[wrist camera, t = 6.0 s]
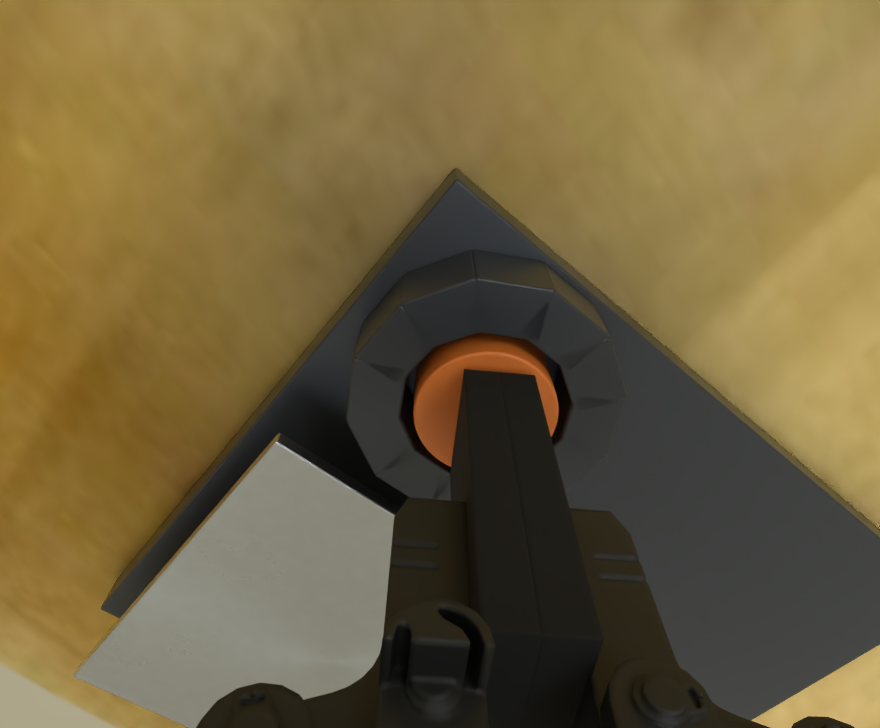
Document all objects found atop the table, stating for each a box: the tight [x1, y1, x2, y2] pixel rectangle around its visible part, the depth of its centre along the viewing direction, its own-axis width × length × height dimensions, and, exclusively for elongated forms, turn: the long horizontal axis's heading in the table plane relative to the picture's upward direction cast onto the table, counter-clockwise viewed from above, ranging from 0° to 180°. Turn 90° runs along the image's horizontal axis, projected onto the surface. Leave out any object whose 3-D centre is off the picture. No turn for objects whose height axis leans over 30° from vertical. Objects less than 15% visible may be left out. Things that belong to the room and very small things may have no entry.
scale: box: [101, 169, 880, 721], centre depth 20 cm, size 20×17×3 cm
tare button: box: [413, 332, 559, 467], centre depth 15 cm, size 3×3×2 cm
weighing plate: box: [74, 433, 400, 728], centre depth 18 cm, size 10×10×1 cm
